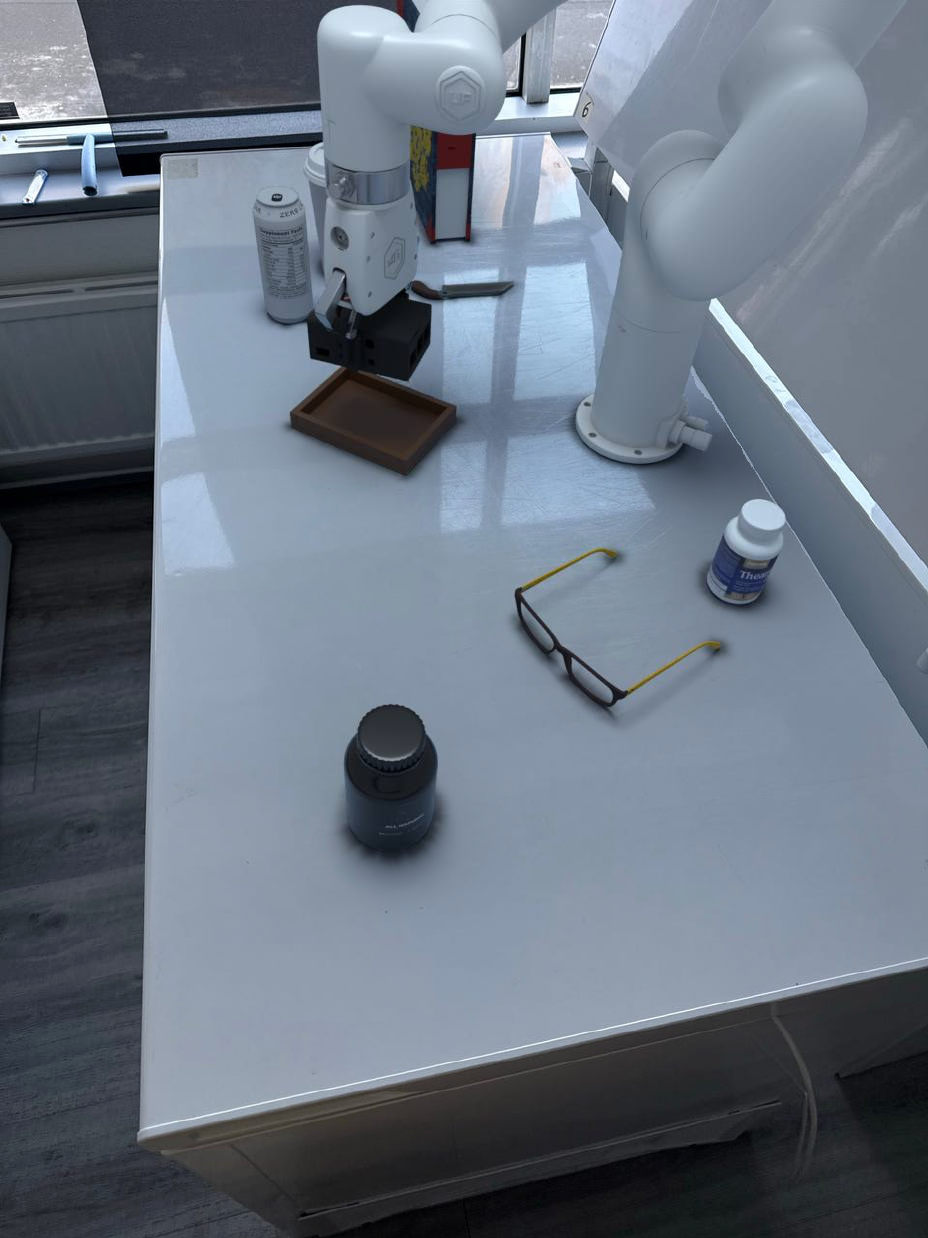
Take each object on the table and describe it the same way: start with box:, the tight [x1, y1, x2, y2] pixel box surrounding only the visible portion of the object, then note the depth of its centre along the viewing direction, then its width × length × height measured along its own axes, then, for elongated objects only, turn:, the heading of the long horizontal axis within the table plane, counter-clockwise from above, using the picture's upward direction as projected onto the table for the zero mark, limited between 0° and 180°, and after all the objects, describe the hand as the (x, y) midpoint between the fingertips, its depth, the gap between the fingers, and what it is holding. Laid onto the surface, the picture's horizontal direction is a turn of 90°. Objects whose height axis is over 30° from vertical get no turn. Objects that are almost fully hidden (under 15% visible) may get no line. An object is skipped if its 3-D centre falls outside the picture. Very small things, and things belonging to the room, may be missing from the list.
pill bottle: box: [706, 498, 787, 605], centre depth 85 cm, size 5×5×10 cm
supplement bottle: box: [343, 703, 439, 852], centre depth 66 cm, size 7×7×12 cm
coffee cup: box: [302, 141, 328, 272], centre depth 116 cm, size 10×10×15 cm
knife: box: [411, 280, 515, 299], centre depth 119 cm, size 14×4×1 cm, turn 101°
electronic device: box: [306, 294, 433, 383], centre depth 92 cm, size 7×11×5 cm
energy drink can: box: [252, 184, 314, 324], centre depth 108 cm, size 6×6×15 cm
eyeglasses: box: [514, 547, 722, 708], centre depth 82 cm, size 14×14×4 cm
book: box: [396, 0, 477, 245], centre depth 125 cm, size 25×7×25 cm, turn 14°
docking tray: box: [289, 366, 458, 476], centre depth 100 cm, size 15×11×2 cm
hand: (371, 343), depth 93 cm, fingers closed on electronic device, 8 cm apart
